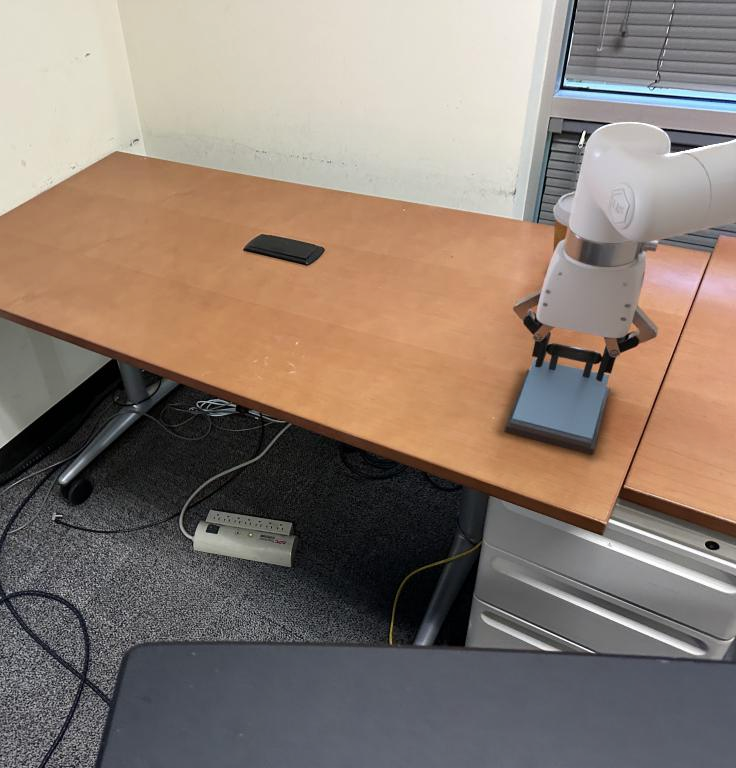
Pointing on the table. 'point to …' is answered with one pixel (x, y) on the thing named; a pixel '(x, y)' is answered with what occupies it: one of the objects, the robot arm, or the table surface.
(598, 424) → the dark rectangular box base
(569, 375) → the handled blue panel
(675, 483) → the table surface
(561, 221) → the disposable coffee cup
